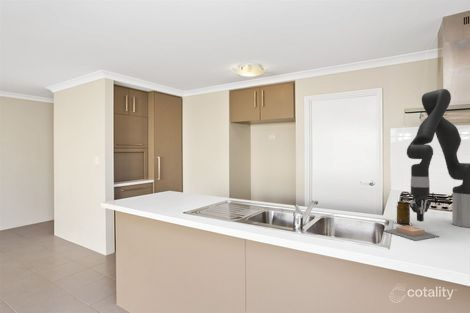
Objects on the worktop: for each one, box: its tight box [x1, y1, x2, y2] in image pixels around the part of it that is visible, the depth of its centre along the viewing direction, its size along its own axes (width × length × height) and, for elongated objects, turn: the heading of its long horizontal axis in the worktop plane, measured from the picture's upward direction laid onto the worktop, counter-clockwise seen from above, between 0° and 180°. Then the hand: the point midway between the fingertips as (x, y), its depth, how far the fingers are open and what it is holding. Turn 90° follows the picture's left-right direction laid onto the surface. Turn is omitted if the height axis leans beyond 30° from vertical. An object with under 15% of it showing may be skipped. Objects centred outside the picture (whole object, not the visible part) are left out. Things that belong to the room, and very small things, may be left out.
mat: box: [382, 228, 440, 242], centre depth 127 cm, size 16×16×1 cm
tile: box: [395, 225, 425, 236], centre depth 127 cm, size 2×8×8 cm
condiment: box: [393, 200, 416, 227], centre depth 145 cm, size 7×8×12 cm
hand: (420, 221), depth 129 cm, fingers closed
